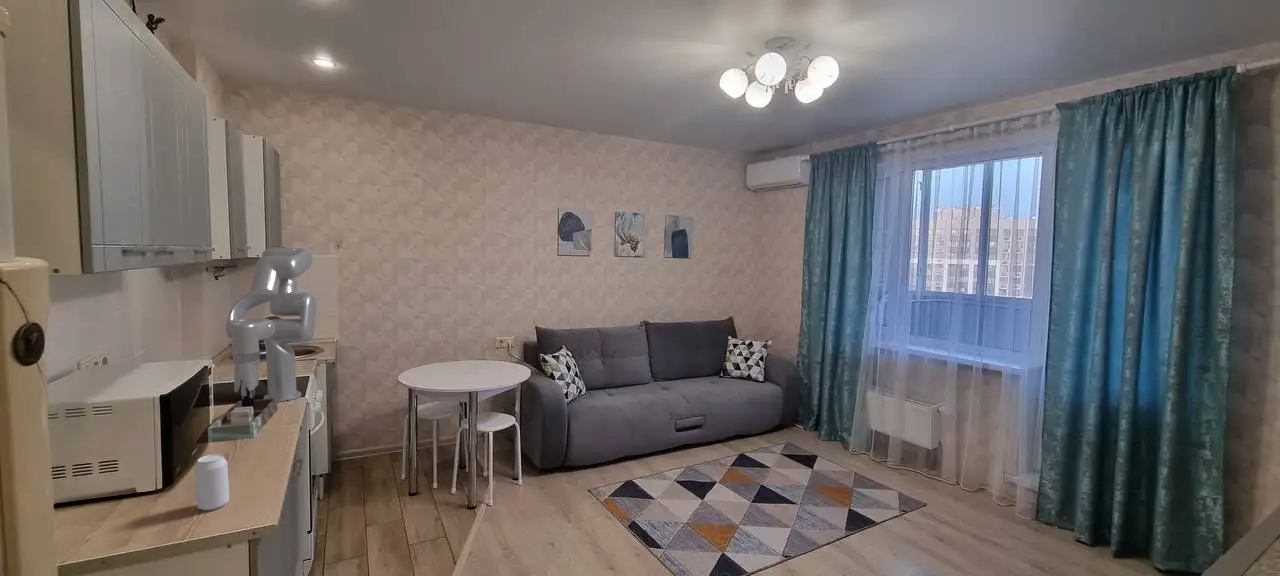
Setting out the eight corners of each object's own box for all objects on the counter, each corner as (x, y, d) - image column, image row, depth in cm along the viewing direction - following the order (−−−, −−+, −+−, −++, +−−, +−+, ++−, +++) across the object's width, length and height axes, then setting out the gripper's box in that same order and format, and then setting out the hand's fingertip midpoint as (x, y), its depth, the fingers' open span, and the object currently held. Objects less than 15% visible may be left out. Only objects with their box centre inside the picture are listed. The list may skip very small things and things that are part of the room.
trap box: (239, 413, 199) (238, 401, 199) (277, 409, 204) (277, 398, 203) (208, 442, 172) (207, 428, 171) (254, 437, 176) (253, 424, 175)
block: (236, 419, 186) (235, 407, 185) (253, 417, 187) (252, 406, 187) (231, 424, 181) (230, 412, 181) (249, 422, 183) (248, 410, 182)
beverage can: (222, 497, 136) (219, 451, 135) (234, 504, 133) (231, 456, 132) (192, 508, 131) (189, 459, 130) (204, 515, 128) (201, 465, 126)
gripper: (240, 354, 195) (243, 404, 197) (225, 363, 181) (228, 417, 183) (265, 352, 198) (267, 402, 199) (252, 361, 184) (255, 414, 185)
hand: (249, 409), depth 191 cm, fingers closed
